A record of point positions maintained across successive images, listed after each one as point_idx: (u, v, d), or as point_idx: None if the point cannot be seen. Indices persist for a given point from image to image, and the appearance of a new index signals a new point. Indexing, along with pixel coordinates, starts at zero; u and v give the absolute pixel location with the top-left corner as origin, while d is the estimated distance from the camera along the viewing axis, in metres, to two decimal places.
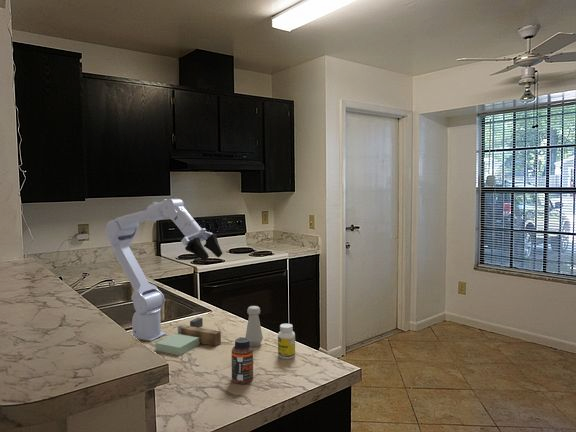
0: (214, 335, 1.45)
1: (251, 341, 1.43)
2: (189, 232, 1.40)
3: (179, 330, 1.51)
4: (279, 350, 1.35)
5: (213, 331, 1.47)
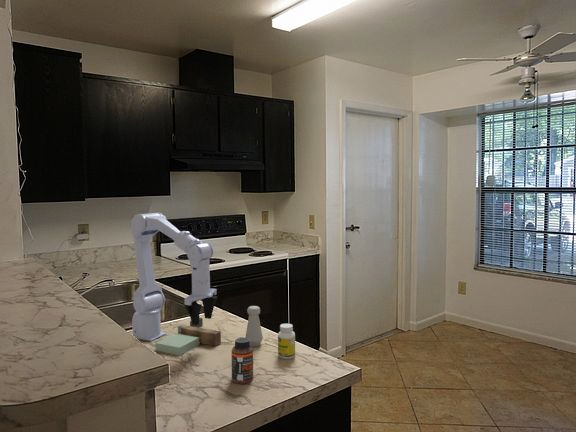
0: (214, 335, 1.45)
1: (251, 341, 1.43)
2: (197, 290, 1.38)
3: (179, 330, 1.51)
4: (279, 350, 1.35)
5: (213, 331, 1.47)
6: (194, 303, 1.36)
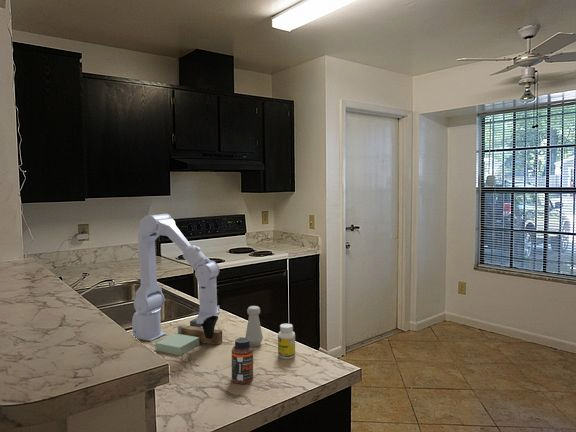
0: (216, 334, 1.45)
1: (251, 341, 1.43)
2: (206, 308, 1.42)
3: (179, 330, 1.51)
4: (279, 350, 1.35)
5: (214, 330, 1.48)
6: (209, 318, 1.43)
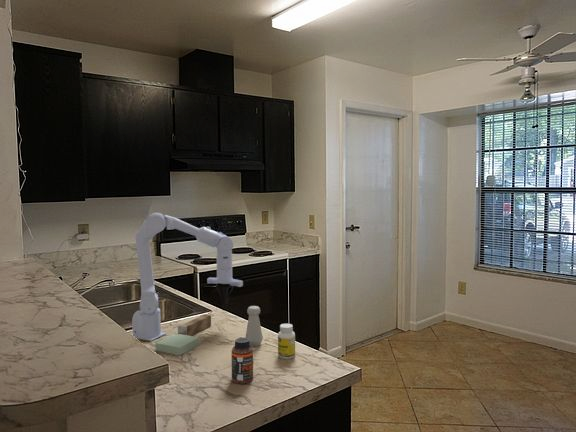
0: (210, 317, 1.65)
1: (251, 341, 1.43)
2: (231, 275, 1.60)
3: (185, 329, 1.51)
4: (279, 350, 1.35)
5: (203, 316, 1.64)
6: None
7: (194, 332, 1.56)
